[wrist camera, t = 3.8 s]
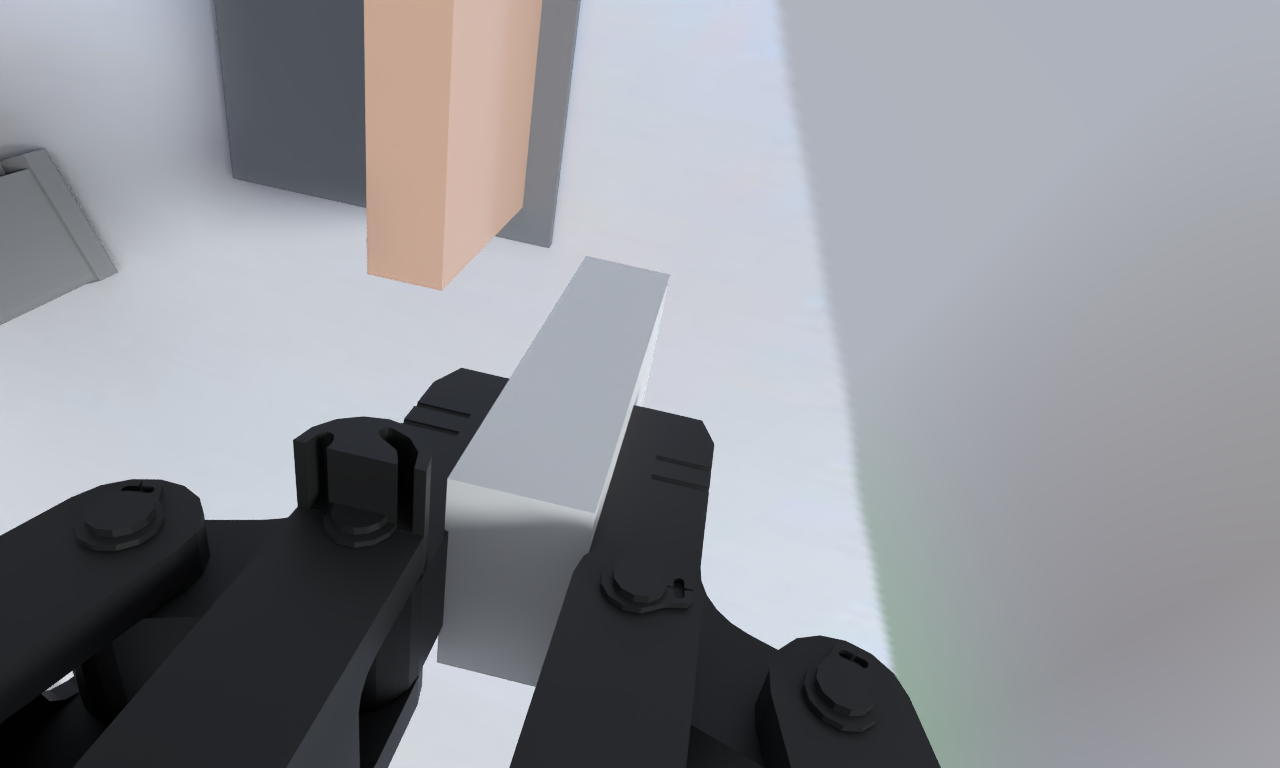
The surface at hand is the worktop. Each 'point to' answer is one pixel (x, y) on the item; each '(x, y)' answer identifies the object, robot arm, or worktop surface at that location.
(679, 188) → the worktop surface
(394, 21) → the tile
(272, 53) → the mat
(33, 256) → the cassette tape recorder
